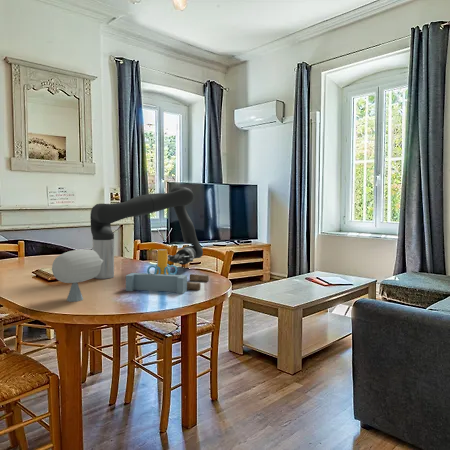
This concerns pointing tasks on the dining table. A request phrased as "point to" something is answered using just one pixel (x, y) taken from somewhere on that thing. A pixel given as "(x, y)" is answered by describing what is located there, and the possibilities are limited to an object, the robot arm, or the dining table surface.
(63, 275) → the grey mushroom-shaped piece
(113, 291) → the dining table surface
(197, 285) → the roller
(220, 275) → the dining table surface
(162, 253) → the yellow block with rings
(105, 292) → the dining table surface
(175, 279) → the stop rail
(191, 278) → the roller
